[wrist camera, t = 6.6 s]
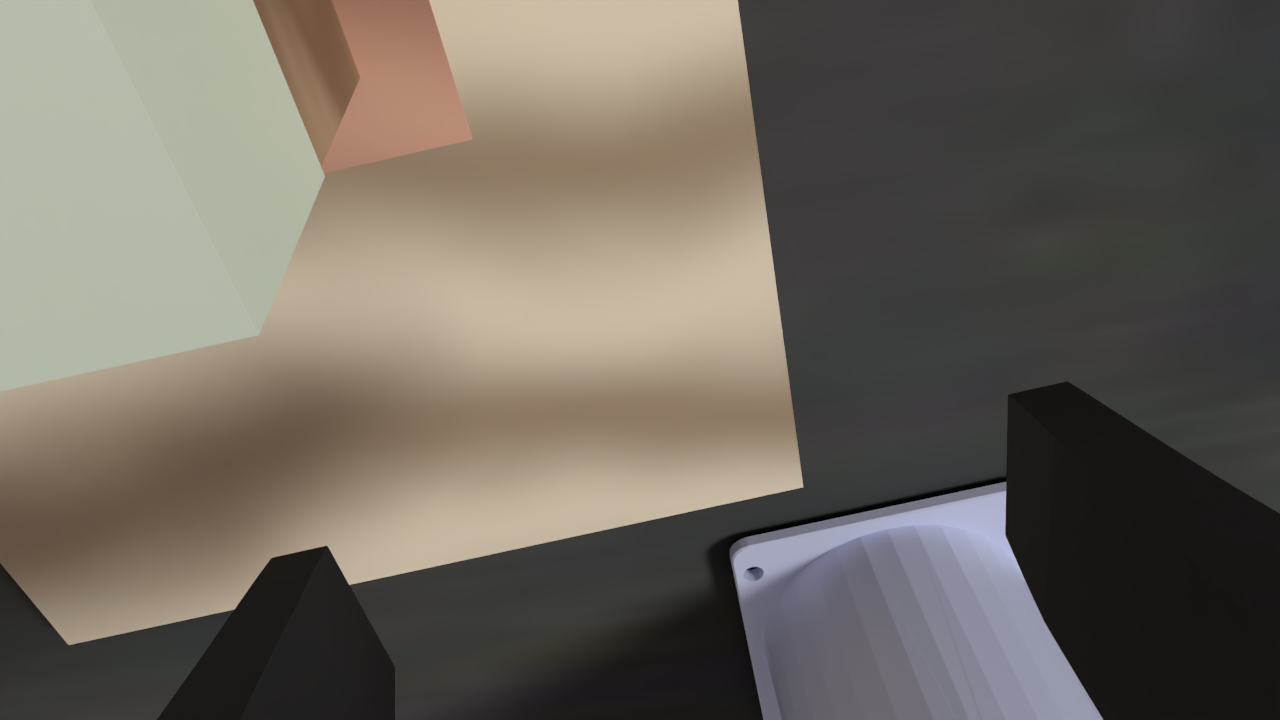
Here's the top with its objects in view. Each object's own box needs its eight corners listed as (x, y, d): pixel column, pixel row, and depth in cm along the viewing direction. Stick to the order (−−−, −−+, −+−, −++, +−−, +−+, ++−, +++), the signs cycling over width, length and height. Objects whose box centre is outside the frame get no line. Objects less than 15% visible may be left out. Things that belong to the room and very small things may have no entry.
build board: (793, 459, 24) (803, 488, 23) (83, 612, 24) (68, 646, 23) (629, -714, 12) (637, -746, 11) (-703, -376, 13) (-790, -381, 12)
